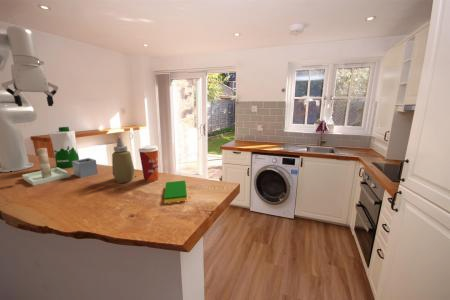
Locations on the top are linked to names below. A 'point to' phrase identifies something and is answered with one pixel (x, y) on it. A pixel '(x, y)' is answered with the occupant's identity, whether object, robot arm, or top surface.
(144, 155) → the paper cup
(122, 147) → the squeeze bottle
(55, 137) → the milk carton
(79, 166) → the holder
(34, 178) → the tray
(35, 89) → the robot arm
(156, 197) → the top surface
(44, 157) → the dowel
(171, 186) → the dish sponge
